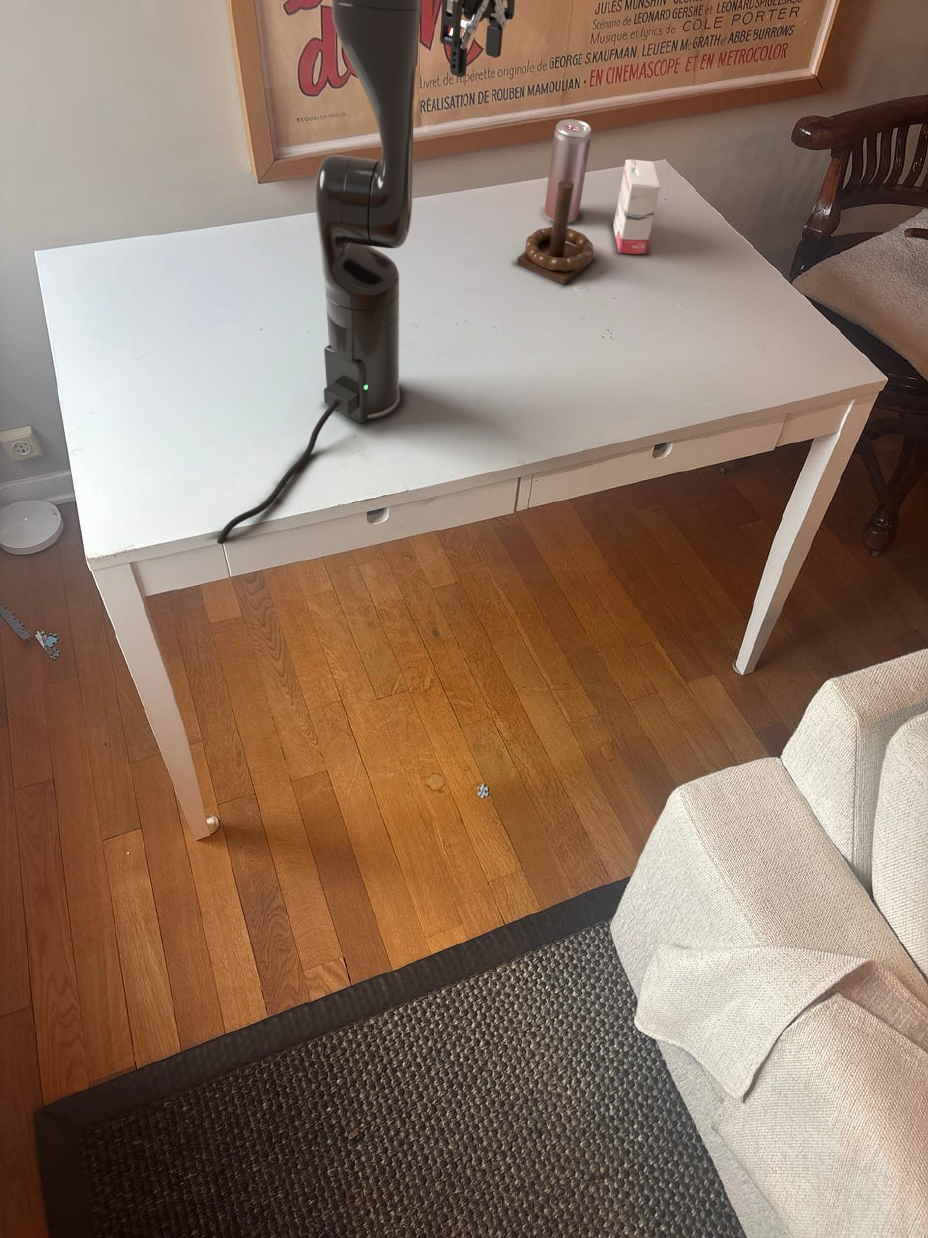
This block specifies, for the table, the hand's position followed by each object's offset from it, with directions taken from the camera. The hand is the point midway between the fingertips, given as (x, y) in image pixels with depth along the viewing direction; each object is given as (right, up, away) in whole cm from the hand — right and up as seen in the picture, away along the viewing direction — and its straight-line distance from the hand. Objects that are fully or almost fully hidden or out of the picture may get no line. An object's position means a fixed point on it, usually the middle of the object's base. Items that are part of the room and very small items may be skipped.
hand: (475, 65), depth 137 cm
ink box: (+26, -15, +26) cm, 40 cm away
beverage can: (+15, -9, +30) cm, 35 cm away
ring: (+14, -19, +19) cm, 30 cm away
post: (+13, -20, +21) cm, 32 cm away
